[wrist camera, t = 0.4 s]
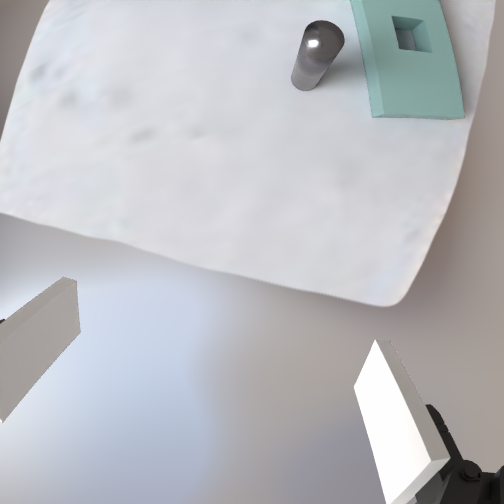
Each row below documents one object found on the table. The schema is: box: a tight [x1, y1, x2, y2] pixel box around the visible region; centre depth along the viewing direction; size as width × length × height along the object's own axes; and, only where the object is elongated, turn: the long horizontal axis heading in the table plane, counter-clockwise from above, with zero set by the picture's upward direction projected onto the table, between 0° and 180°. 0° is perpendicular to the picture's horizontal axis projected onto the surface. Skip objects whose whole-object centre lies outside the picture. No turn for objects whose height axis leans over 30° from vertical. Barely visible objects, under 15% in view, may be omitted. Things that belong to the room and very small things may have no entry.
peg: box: [291, 20, 344, 91], centre depth 25 cm, size 3×3×14 cm
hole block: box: [350, 0, 465, 120], centre depth 27 cm, size 20×11×4 cm, turn 7°
